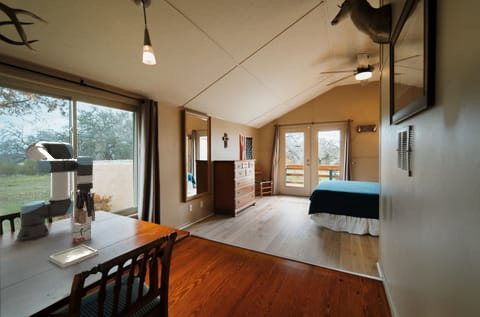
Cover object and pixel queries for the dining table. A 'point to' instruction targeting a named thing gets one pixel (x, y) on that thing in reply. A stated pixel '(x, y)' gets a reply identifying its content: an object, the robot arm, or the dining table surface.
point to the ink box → (81, 232)
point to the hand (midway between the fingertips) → (84, 221)
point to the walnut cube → (83, 216)
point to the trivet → (73, 255)
